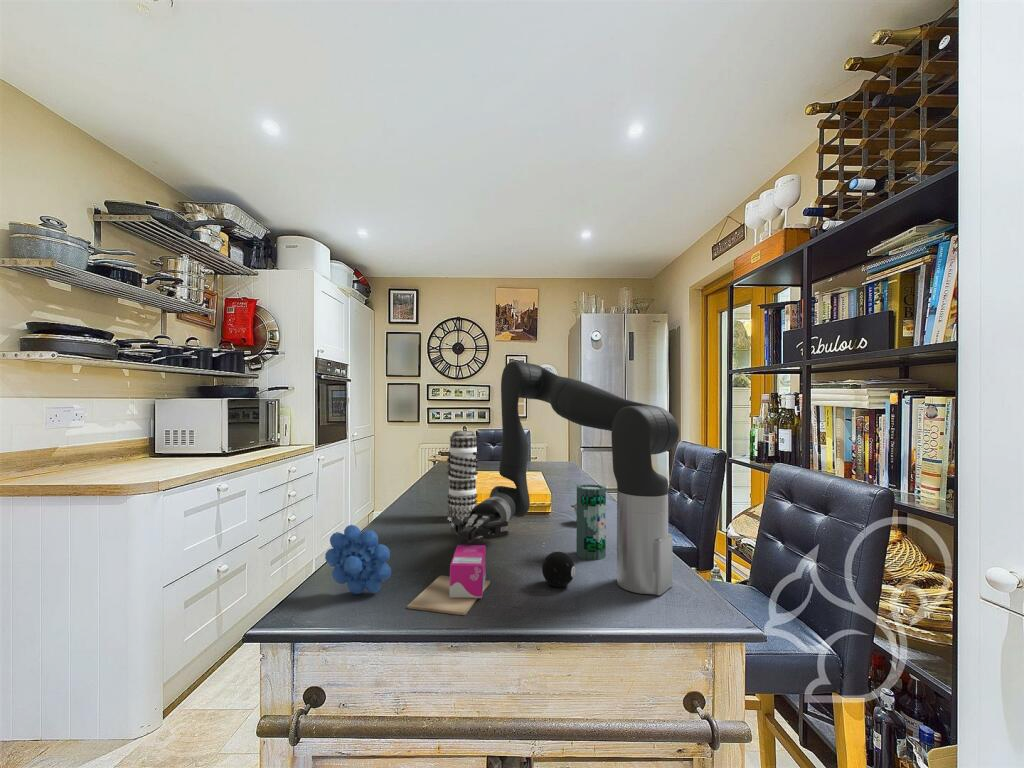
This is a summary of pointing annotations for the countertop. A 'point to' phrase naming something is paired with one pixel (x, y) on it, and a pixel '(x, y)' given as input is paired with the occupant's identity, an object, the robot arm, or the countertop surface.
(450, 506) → the grey white cylinder
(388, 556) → the blue knobbed wheel
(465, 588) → the supplement box
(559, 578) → the billiard ball
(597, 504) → the can
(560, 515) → the countertop surface
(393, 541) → the countertop surface
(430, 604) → the brown paper envelope
